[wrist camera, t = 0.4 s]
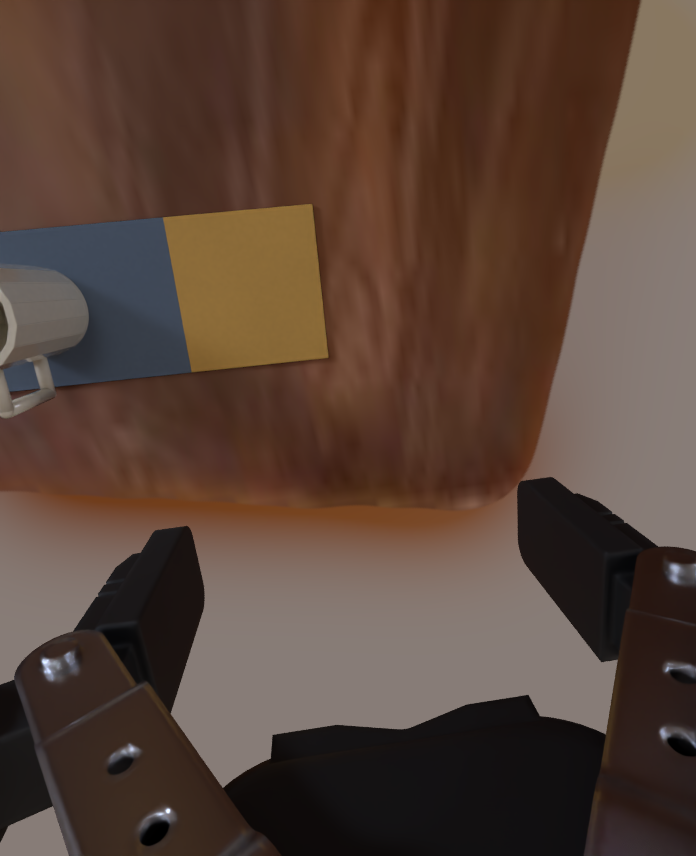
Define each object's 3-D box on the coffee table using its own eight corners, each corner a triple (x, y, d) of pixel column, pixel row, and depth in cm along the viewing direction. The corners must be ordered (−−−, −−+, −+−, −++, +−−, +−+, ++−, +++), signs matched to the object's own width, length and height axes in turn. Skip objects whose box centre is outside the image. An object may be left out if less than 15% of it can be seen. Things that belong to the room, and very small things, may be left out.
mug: (-12, 271, 35) (-124, 266, 26) (77, 263, 35) (-3, 255, 26) (24, 396, 37) (-67, 432, 28) (107, 388, 38) (43, 420, 29)
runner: (-50, 237, 34) (-52, 236, 34) (312, 204, 35) (312, 203, 35) (-3, 392, 37) (-4, 393, 37) (328, 357, 39) (328, 357, 38)
